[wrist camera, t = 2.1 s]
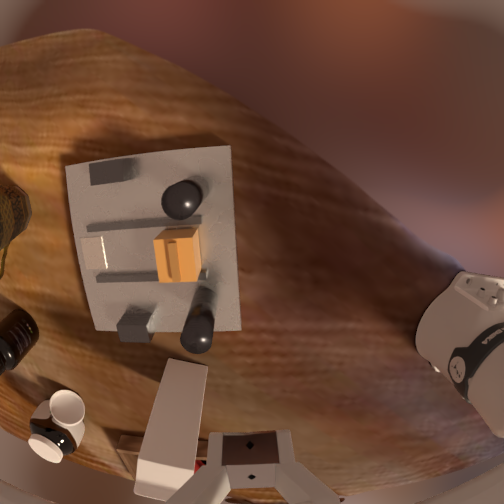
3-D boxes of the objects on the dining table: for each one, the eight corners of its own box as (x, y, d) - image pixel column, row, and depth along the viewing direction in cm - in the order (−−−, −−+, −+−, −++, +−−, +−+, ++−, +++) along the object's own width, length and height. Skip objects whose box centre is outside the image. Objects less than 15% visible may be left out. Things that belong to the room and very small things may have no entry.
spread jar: (52, 417, 49) (31, 455, 37) (35, 377, 45) (7, 416, 34) (100, 430, 49) (83, 473, 38) (85, 390, 46) (61, 435, 35)
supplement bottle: (25, 346, 43) (-9, 385, 31) (5, 313, 41) (-34, 348, 29) (47, 338, 42) (11, 381, 31) (26, 303, 40) (-16, 340, 29)
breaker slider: (197, 228, 34) (191, 239, 30) (201, 267, 35) (196, 283, 31) (162, 230, 34) (151, 241, 30) (167, 269, 35) (157, 285, 31)
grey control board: (231, 146, 35) (225, 142, 23) (241, 318, 41) (241, 376, 30) (76, 164, 34) (20, 173, 23) (103, 319, 41) (68, 369, 30)
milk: (168, 357, 43) (130, 480, 22) (208, 365, 44) (191, 494, 23) (165, 386, 45) (133, 502, 24) (203, 394, 46) (187, 514, 24)
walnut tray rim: (211, 441, 49) (210, 457, 46) (222, 482, 55) (221, 497, 51) (121, 434, 49) (116, 449, 45) (144, 477, 54) (141, 490, 50)
